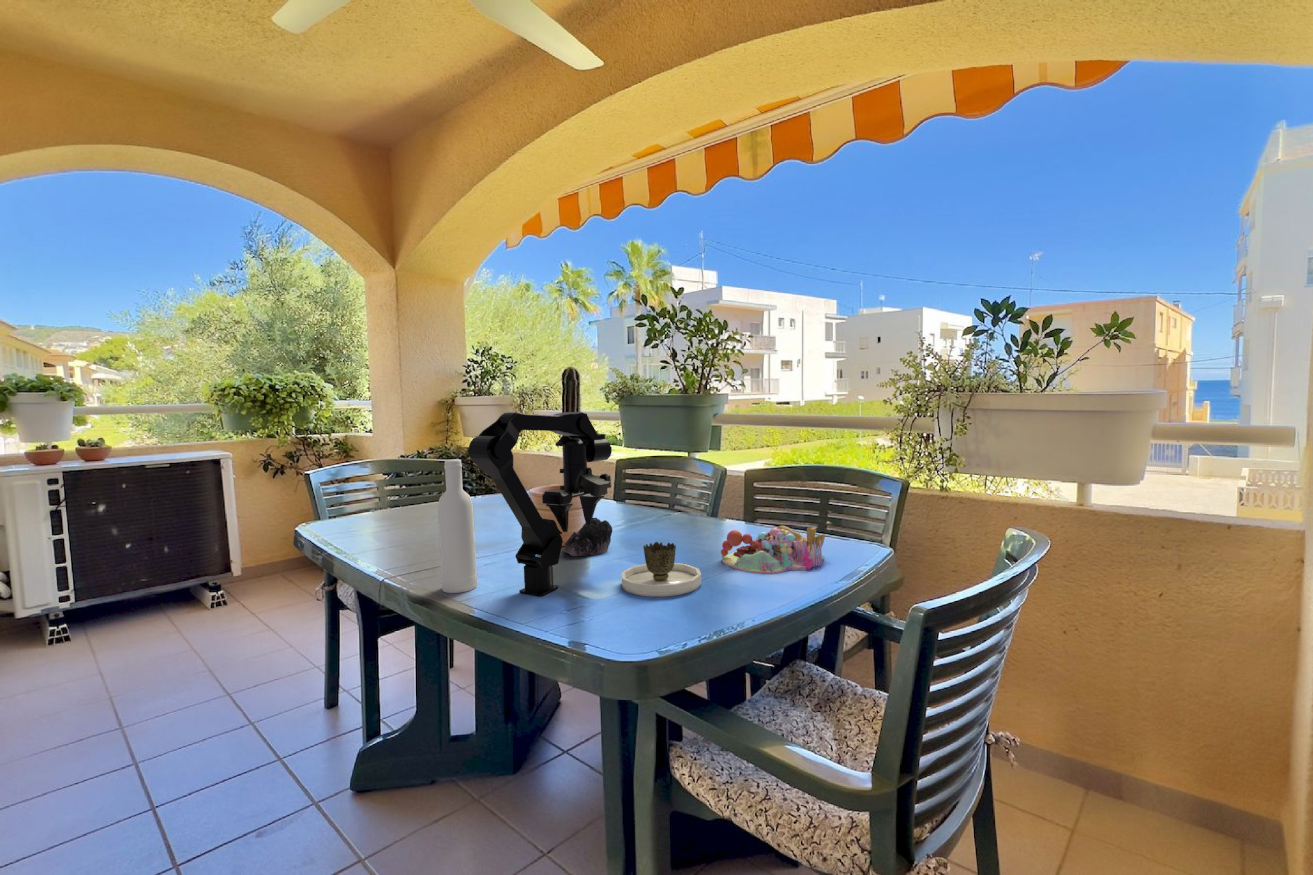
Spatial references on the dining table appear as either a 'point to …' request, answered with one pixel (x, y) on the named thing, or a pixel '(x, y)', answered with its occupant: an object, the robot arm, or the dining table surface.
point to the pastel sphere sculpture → (774, 551)
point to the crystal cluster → (590, 539)
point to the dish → (677, 583)
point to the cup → (660, 559)
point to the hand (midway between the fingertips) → (577, 528)
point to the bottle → (456, 533)
